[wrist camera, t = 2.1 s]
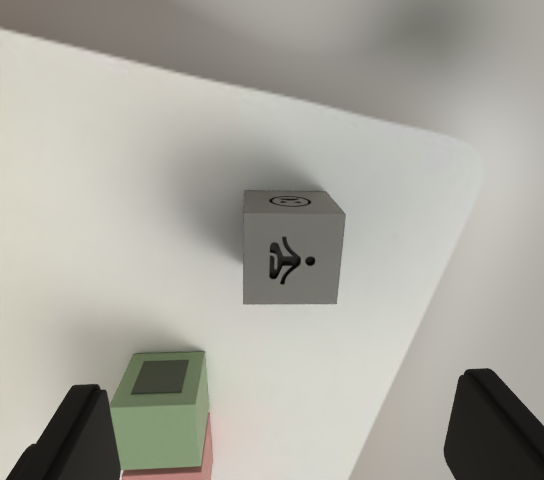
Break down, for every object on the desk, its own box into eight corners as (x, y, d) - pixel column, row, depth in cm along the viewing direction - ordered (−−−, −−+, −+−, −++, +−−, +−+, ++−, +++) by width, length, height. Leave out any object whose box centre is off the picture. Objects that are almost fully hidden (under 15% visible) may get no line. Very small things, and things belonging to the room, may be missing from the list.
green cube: (205, 349, 27) (195, 403, 22) (209, 406, 28) (201, 466, 24) (133, 352, 26) (107, 406, 22) (141, 409, 28) (120, 470, 23)
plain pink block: (209, 410, 28) (201, 471, 24) (212, 460, 30) (206, 525, 25) (142, 413, 28) (120, 475, 23) (149, 463, 30) (131, 530, 25)
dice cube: (244, 190, 23) (243, 213, 18) (326, 191, 23) (345, 214, 18) (244, 265, 24) (243, 304, 20) (320, 265, 25) (336, 304, 20)
